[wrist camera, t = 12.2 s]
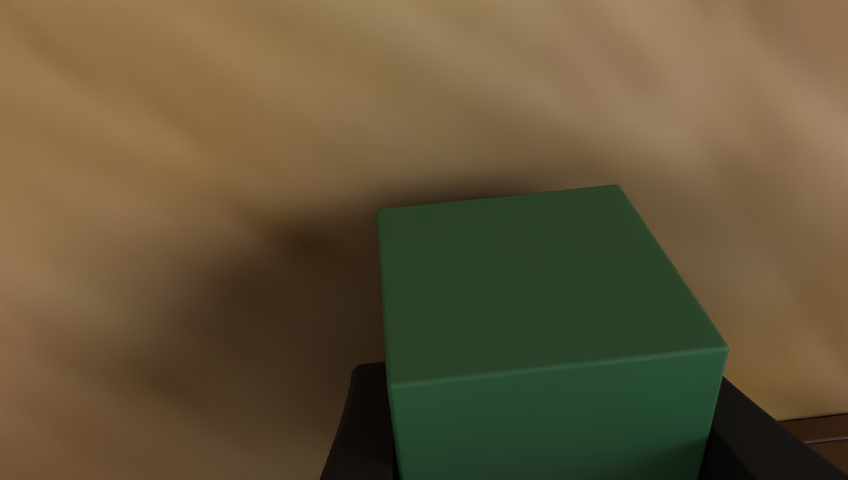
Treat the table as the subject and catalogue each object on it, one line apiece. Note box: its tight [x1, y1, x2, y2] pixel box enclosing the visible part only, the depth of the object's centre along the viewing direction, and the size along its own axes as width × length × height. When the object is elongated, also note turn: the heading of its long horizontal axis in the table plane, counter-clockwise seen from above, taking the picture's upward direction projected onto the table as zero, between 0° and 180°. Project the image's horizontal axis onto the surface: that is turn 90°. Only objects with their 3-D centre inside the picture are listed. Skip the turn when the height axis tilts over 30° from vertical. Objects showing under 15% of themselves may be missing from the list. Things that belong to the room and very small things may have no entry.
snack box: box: [376, 185, 729, 480], centre depth 11 cm, size 4×6×4 cm, turn 4°
